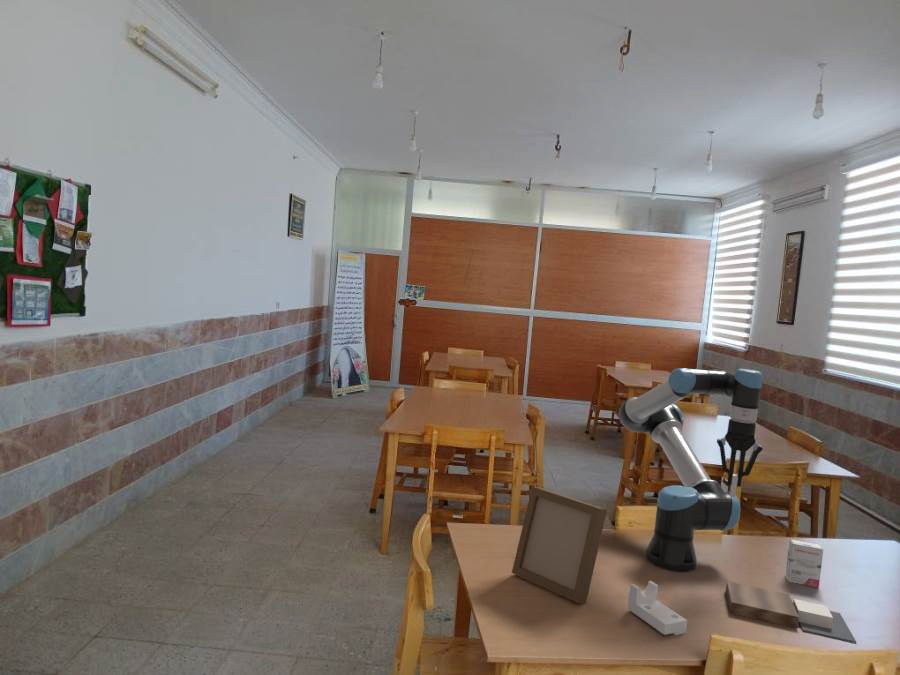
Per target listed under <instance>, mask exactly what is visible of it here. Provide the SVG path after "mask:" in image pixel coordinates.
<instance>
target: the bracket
mask: <svg viewBox="0 0 900 675" xmlns="http://www.w3.org/2000/svg"><path fill="white" fill-rule="evenodd" d="M658 590H659V584H657V583H656V582H654V581H652V580H649V581H648V582H647V586H646V587H645V588H644V589H643V590H641V587H639V586H637V585H636V584H634V583H631V584H630V585H629V593H628V603H627V610H628V611H630V612H631V613H633V614H634V615H636V616H637V617H638V618H640V620H643V621H644V622H645V623H647V624H648V625H650V626H651V627H653V628H654V629H655V630H657V631H658V632H659V633H661V634H662V635H664V636H666V635H671V634H672V635H673V636H679V635H683V634H687V624H688V620H687V619H686V618H685V617H683V616H681V615H680V614H678V613H677V612H675V611H674V610H672V609H671V608H669V607H668V606H666V605H665V604H663V603H662V602H660V601H659V600H658V592H659V591H658Z"/></svg>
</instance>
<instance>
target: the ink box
mask: <svg viewBox="0 0 900 675" xmlns="http://www.w3.org/2000/svg"><path fill="white" fill-rule="evenodd" d="M823 555H824V548H823V547H822V546H821V545H820V544H816V543H811V542H807V541H806V542H805V541H802V540H795V539H789V542H788V549H787V557H786V558H787V560H786V567H785V576H784V577H785V579H786V580H787V582H788V583H792V582H793V584H797V583H798V585H804V586H808V587H814V588H817V589H818V588H820V581H821V572H822V563H823Z"/></svg>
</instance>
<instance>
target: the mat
mask: <svg viewBox="0 0 900 675" xmlns="http://www.w3.org/2000/svg"><path fill="white" fill-rule="evenodd" d="M829 611H830V613H831V615H832V617H833V622H832V629H829V628H825V627H820V626H816V625H812V624H807V623H803V622H798V625H799V627H800V629H801V631H802V632H805V633H810V634H813V635H819V636H823V637H827V638H831V639H836V640H840V641H845V642H848V641H850V642H849V643H853V642H854V643H853V644H857V640H856V638H855V637H854V635H853V633H852V632H851V629H850V628H849V626H848V625H847V623H846V621H845V619H844V618H843V616H842V614H841V612H837V611H832V610H829Z"/></svg>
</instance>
